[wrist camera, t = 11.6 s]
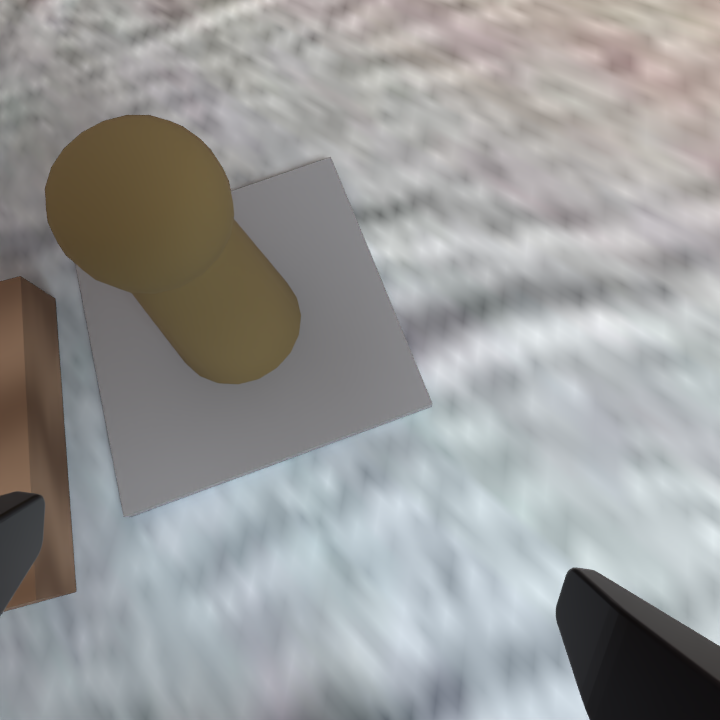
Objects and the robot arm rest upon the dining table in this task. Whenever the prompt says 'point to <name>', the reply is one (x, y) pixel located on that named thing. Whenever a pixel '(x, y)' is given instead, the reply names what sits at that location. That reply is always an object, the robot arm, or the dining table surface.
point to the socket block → (35, 432)
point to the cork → (172, 244)
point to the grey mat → (274, 390)
